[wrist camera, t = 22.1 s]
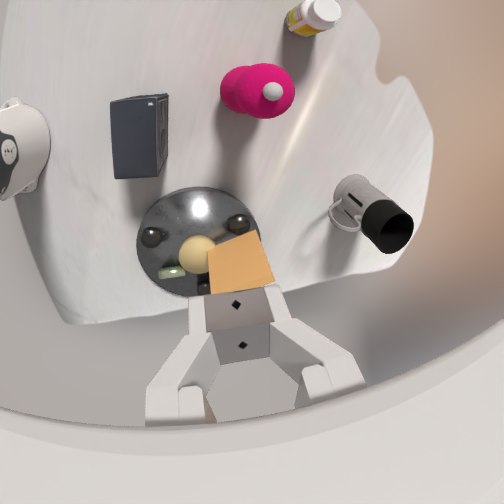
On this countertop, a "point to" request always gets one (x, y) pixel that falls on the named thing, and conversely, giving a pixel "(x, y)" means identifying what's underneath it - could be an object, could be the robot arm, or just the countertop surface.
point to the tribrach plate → (188, 234)
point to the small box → (139, 135)
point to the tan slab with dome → (227, 262)
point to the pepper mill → (258, 90)
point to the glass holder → (372, 214)
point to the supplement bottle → (313, 17)
